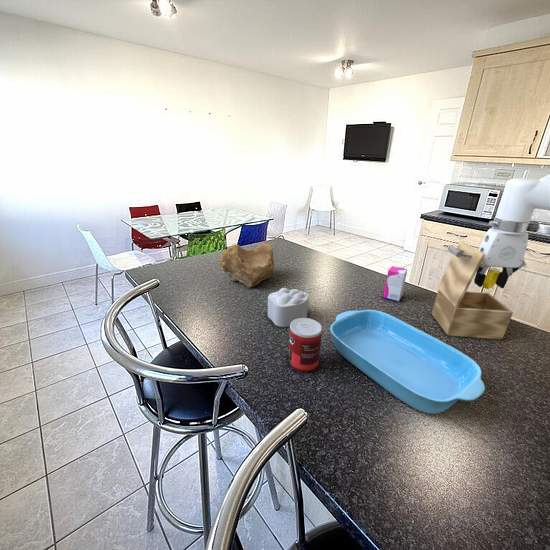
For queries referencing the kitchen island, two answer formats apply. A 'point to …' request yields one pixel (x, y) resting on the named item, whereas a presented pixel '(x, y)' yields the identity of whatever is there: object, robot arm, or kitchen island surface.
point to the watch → (491, 278)
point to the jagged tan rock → (248, 264)
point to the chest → (472, 316)
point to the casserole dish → (406, 360)
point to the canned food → (304, 344)
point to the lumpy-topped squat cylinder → (287, 306)
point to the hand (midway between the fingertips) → (488, 285)
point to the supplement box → (395, 283)
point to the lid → (460, 272)
